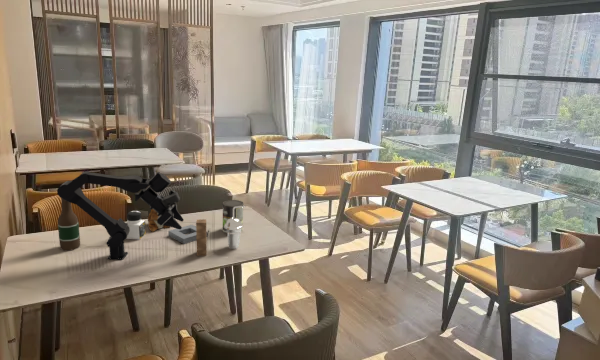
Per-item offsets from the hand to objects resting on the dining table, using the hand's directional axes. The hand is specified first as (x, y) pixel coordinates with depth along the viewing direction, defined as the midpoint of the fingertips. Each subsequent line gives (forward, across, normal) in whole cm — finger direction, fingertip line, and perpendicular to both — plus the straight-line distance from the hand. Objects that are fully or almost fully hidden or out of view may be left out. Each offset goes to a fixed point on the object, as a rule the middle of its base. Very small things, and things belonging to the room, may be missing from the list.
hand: (182, 224), depth 179 cm
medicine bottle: (-7, +22, +26) cm, 35 cm away
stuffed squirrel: (-1, +34, +21) cm, 40 cm away
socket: (+10, +20, +9) cm, 24 cm away
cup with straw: (+25, +6, -6) cm, 27 cm away
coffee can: (+25, +27, -6) cm, 38 cm away
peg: (+15, 0, +4) cm, 16 cm away
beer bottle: (-24, +11, +44) cm, 51 cm away
